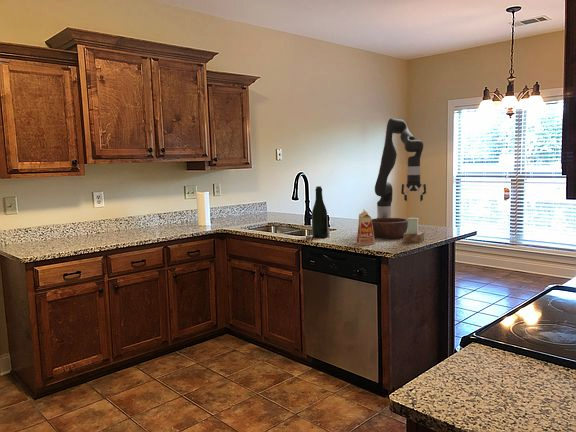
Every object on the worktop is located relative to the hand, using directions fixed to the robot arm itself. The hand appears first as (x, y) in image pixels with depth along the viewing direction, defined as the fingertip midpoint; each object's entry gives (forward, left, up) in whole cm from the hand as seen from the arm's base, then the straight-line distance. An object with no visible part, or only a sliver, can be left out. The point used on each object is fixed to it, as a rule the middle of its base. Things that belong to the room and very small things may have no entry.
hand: (413, 201), depth 287 cm
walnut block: (0, -4, -24) cm, 24 cm away
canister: (0, -4, -19) cm, 19 cm away
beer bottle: (-59, +7, -23) cm, 64 cm away
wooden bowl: (-16, +13, -24) cm, 31 cm away
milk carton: (-27, -15, -23) cm, 39 cm away
